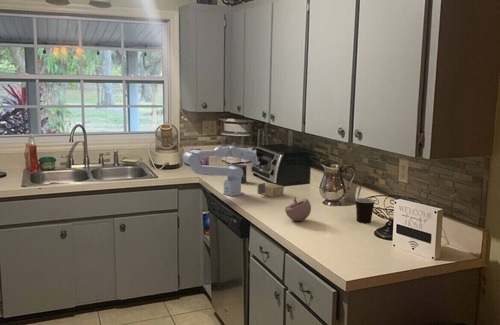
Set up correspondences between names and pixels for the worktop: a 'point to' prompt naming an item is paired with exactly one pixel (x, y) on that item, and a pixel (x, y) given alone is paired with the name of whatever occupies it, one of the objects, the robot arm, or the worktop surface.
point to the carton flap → (265, 190)
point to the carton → (275, 189)
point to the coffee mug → (364, 209)
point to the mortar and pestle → (298, 210)
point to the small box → (243, 167)
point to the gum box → (204, 160)
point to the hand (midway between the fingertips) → (265, 159)
